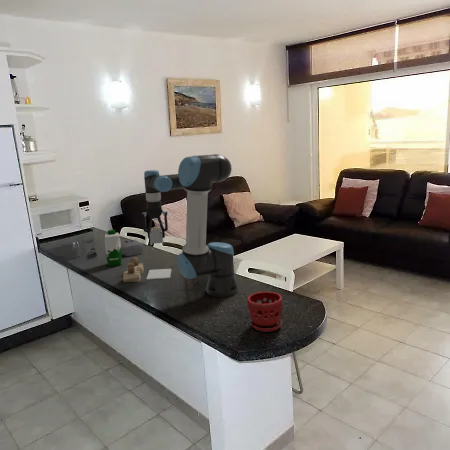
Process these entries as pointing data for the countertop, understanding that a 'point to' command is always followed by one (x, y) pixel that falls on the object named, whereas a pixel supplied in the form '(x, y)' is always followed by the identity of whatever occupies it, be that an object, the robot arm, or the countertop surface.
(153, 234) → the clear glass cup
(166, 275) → the mat
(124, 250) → the small grey backpack
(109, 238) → the milk carton
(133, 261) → the plane body
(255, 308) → the plant pot
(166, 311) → the countertop surface
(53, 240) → the countertop surface
